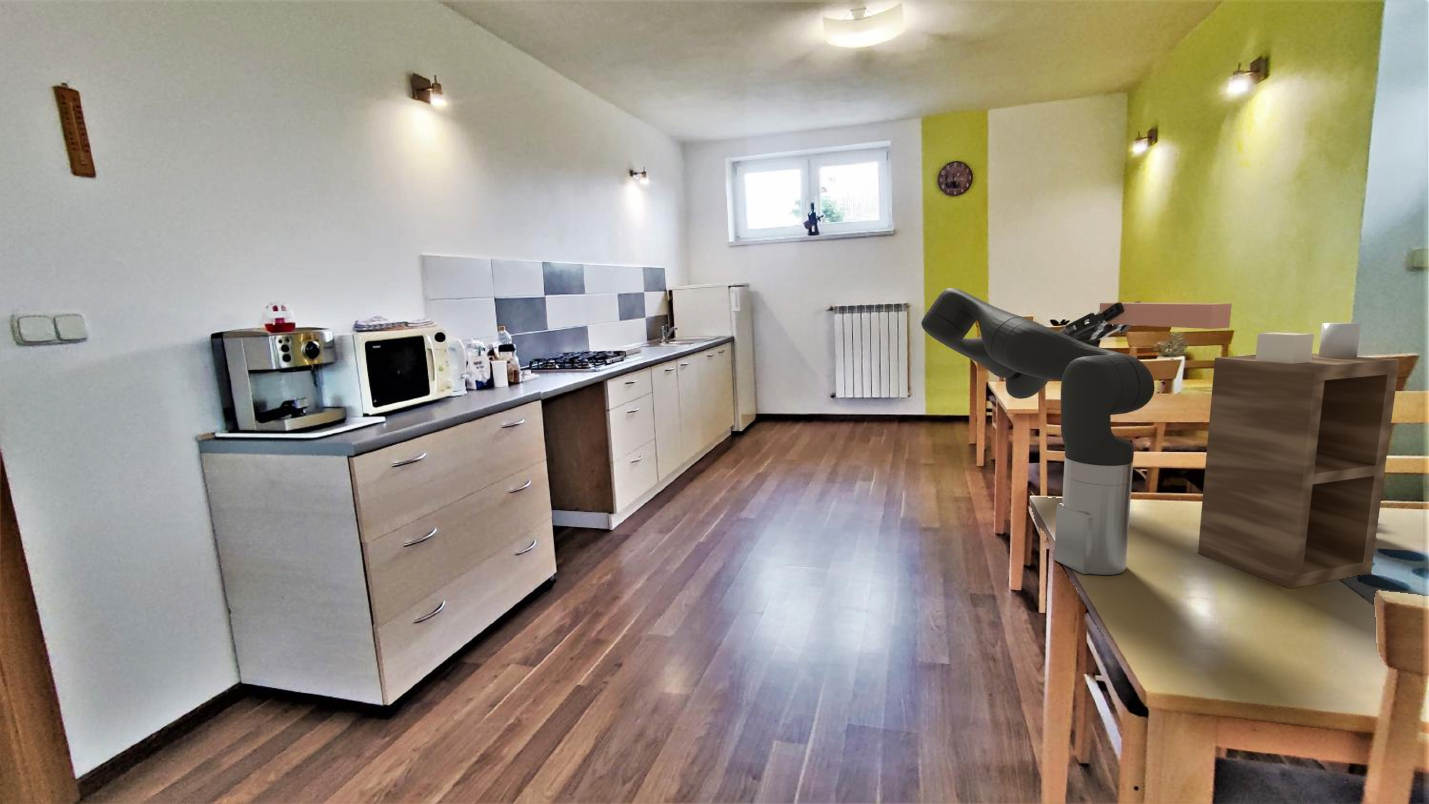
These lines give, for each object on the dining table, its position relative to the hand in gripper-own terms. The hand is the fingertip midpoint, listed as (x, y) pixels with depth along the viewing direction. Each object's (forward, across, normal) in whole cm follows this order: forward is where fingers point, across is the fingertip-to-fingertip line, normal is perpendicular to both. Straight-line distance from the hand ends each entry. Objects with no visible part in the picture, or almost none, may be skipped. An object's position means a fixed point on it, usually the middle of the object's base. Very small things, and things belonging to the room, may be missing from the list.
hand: (1131, 306), depth 127 cm
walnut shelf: (+7, 0, +49) cm, 50 cm away
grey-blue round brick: (+24, +5, +22) cm, 33 cm away
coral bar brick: (+4, 0, +6) cm, 7 cm away
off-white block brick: (+24, -5, +22) cm, 33 cm away
